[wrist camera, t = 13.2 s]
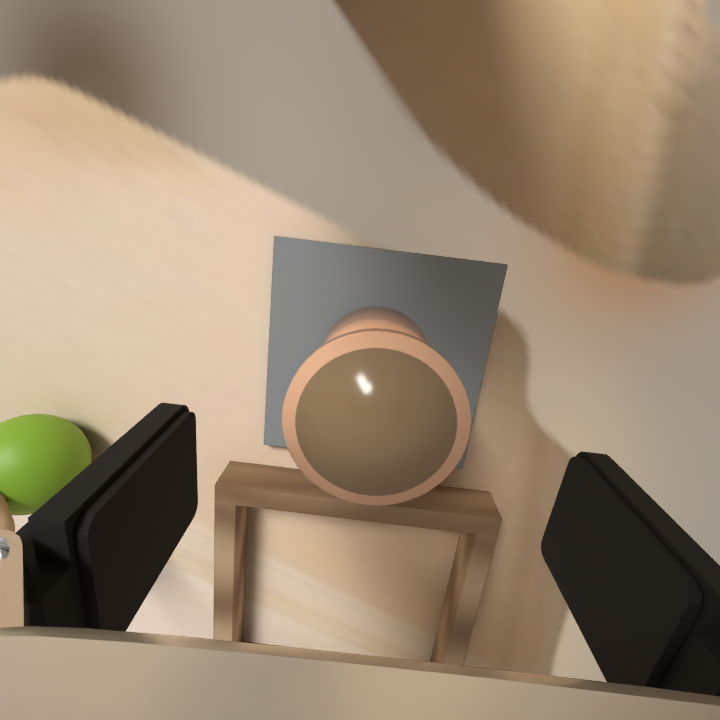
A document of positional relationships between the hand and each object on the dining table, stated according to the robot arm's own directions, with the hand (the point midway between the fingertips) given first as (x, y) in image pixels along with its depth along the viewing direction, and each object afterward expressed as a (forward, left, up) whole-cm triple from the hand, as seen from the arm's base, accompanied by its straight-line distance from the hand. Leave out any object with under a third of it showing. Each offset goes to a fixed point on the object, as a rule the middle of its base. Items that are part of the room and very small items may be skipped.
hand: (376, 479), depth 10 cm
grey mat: (+1, 0, -13) cm, 13 cm away
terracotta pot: (+1, 0, -12) cm, 12 cm away
